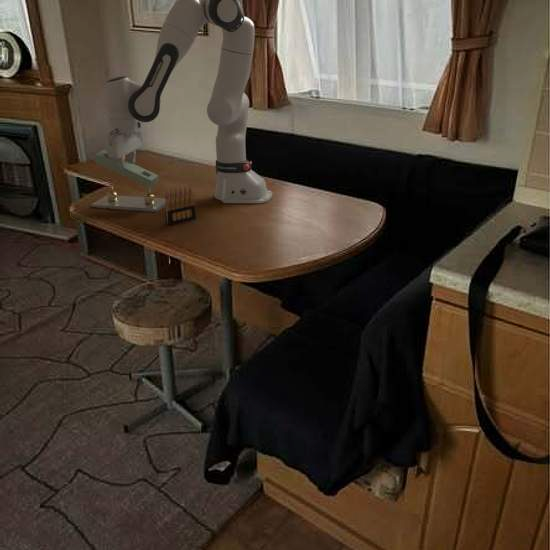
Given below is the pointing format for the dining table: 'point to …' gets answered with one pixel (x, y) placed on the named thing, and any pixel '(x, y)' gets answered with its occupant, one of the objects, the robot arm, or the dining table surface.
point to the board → (127, 169)
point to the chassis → (131, 202)
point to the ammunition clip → (179, 207)
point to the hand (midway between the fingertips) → (127, 165)
